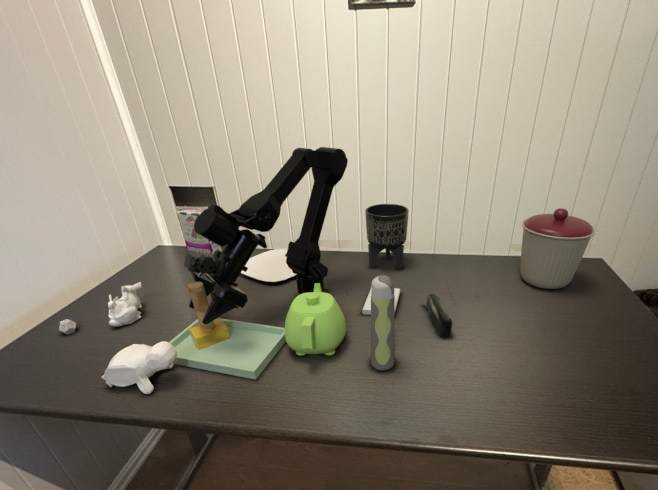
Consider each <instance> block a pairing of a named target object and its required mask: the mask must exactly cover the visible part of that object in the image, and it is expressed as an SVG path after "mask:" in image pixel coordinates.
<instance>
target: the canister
mask: <svg viewBox="0 0 658 490" xmlns="http://www.w3.org/2000/svg"><path fill="white" fill-rule="evenodd" d="M521 227H522V228H523V230H522V239H521V240H522V241H521V249H520V250H521V251H520V267H519V269H520V270H519V271H520V276H521V278H522V280H524V282H526V283H527V284H529V285H531V286H533V287H535V288H539V289H545V290H546V289H547V290H556V289H557V290H559V289H562V288H565V287H566V286H568V285H569V284H570V283H571V281H572V280H573V278H574V276H575V274H576V272H577V270H578V268H579V265H580V263H581V261H582V260H583V256H584V254H585V253H586V250H587V247H588V246H589V243H590V242H591V238H592V237H594V236H595V235H596V234H597V229H596V228H595V227H594V226H593V225H591V223H589V222H588V221H586V220H585V219H582V218H580V217H577V216H573V215H569V211H568V209H566V208H561V207H560V208H556V209H555V210H554V211H553V213H539V214H535V215H532V216H530V217H527V218H525V219H523V220H522V221H521Z"/></svg>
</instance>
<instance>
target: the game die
mask: <svg viewBox="0 0 658 490" xmlns="http://www.w3.org/2000/svg"><path fill="white" fill-rule="evenodd" d="M76 327H77V322H75V321H73V320H72V319H68V318H66V319H63V320H60V321H59V326H58V332H61V333H63V334H65V335H68V336H69V335H71V334H74V333H75V332H76Z"/></svg>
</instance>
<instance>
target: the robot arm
mask: <svg viewBox="0 0 658 490" xmlns="http://www.w3.org/2000/svg"><path fill="white" fill-rule="evenodd" d="M348 160H349V159H348V158H347V154H346V152H345V151H344V149H342V148H338V147H328V146H320V147H318V148H316V149H312V148H307V147H297V148H295V149H294V150H293V151H292V152H291V156H290V157H289V158H288V160H286V162H285V163H284V165H283V166H282V167H281V168H280V169H279V171H277V172H276V174H275V175H274V177H272V179H271V180H270V182H269V183H268V184H267V185H266V186H265V188H263V189H262V190H261V191H259V192H257V193H255V194H253V195H251V196H250V197H249V198H248V199H246V200H245V201H244V202H243V203H242V204H240V206H239V208H237V209H235V210H233V211H231V212H229V213H228V212H227V211H225V210H224V209H223V207H221V206H220V205H218V204H216V203H211V204H210V205H209V207H208V208H205V209H203V210H204V211H203V212H202V213H201V214H200V215H198V216H197V218H196V220H195V223H194V230H195V232H196V233H197V234H199V235H201V236H203V237H205V238H206V239H208V240H210V241H212V242H213V243H215V244H217V245H219V246H222V251H220V250H217V251H215V252H214V254H213V255H210V254H205V253H199V252H193V251H188V250H186V252H185V257H184V262H183V267H184V268H186V269H187V271H188V272H190V275H191V276H192V278H193V281H194V282H202V283H203V285H204V289H205V292H206V296H207V297H209V296H210V298H211V301H210V303H209V307H208V309H207V312H206V314H205V316H204V318H203V320H202V323H203V324H206V325H207V324H209V323H210V322H212V321H213V320H215V319H217V318H221V316H223V315H225V314H226V313H229V312H230V311H232V310H234V309H239V308H241V309H243V308H244V307H245V306H246V304H247V303H248V301H249V299H248V295H247V293H245V292H244V291H243V290H242V289H240V288H239V287H238V285H239V283H238V282H237V279H238V278H239V277H240V275H241V272H242V270H243V271H245V272H246V271H247V269H248V268H247V267H246V266H245V265H246V264H247V262H248V260H249V259H250V258H251V257H253V255H254V252H255V251H256V250H257V248H258V246H260V247H261V248H263V249H265V250H266V249H267V248H268V245H267V241H266V236H265V235H263V234H261V233H268V232H270V231H271V230H272V229H273V228H274V226H275V224H276V223H277V221H278V220H279V218H280V215H281V209H282V206H283V204H284V202H285V201H286V200H287V199H288V197H289V196H290V195H291V194H292V192H293V191H294V189H295V188H296V187H297V186H298V184H300V182H301V181H302V180H303V178H304V177H305V176H306V175H307V173H308V172H309V171H310V170H311V172H312V177H313V184H312V188H311V192H310V196H309V199H308V204H307V207H306V211H305V215H304V219H303V221H302V226H301V230H300V234H299V236H298V238H297V239H296V240H295V241H291V240H290V241H289V243H288V245H287V249H288V251H287V253H286V255H285V256H286V257H287V258H286V264H287V265H288V267H289V268H290V269H292V271H293V273H294V274H298V275H296V277H297V278H296V281H295V282H296V288H297V293H298V295H300V294H303V293H309V292H314V285H315V283H320V286H321V290H322V292H324V293H327V292H328V289H327V288H325V280H324V279H325V278H326V277H327V276H328V272H329V268H328V267H327V266H326V265H324V264H323V263H321V257H322V253H321V249H320V248H321V247H320V244H319V241H320V238H321V233H322V230H323V226H324V224H325V219H326V215H327V212H328V208H329V206H330V205H329V204H330V201H331V197H332V193H333V190H334V187H336V186H337V184H338V183H339V182H340V181H341V180H342V179H343V177H344V174H345V172H346V169H347V166H348V163H349V161H348ZM240 227H241V228H244V229H241V230H240ZM252 230H255V231H258V232H261V233H254V232H253V231H252ZM188 307H189V308H190V309H194V310H195V308H194V305H193V302H192V299H191V298H190V299H189V304H188Z"/></svg>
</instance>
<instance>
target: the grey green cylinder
mask: <svg viewBox="0 0 658 490" xmlns="http://www.w3.org/2000/svg"><path fill="white" fill-rule="evenodd" d="M371 287H372V290H371V315H370V365H371V366H372V367H373V368H374V369H375V370H377V371H388V370H390V369H391V368H393V366H394V365H395V315H394V308H395V295H394V288H395V285H394V282H393V280H392V279H391V278H390V277H389V276H388V275H384V274H381V275H377V276H375V277H374V278H373V279H372V281H371Z"/></svg>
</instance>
